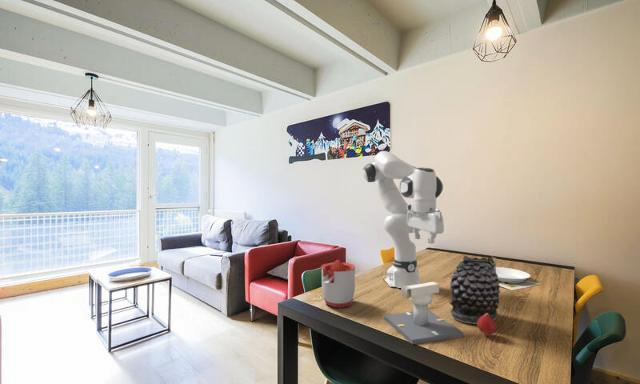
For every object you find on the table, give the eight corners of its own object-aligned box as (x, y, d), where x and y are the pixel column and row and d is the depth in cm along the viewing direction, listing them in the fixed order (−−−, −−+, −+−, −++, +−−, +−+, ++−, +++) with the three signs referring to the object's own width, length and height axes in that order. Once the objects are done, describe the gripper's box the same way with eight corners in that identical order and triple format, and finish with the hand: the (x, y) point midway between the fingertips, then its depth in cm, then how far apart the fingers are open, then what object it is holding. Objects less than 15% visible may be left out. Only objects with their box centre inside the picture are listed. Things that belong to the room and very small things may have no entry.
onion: (473, 332, 103) (473, 309, 103) (489, 331, 103) (488, 309, 103) (484, 340, 97) (484, 316, 97) (500, 339, 97) (500, 316, 97)
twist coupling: (428, 294, 114) (428, 279, 114) (444, 301, 106) (444, 285, 106) (397, 300, 108) (397, 284, 108) (411, 307, 101) (411, 291, 101)
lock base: (383, 319, 114) (383, 295, 114) (427, 313, 119) (427, 290, 119) (412, 344, 95) (411, 315, 95) (463, 336, 100) (462, 308, 100)
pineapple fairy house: (478, 307, 125) (477, 249, 125) (511, 321, 111) (510, 256, 111) (440, 314, 118) (439, 253, 118) (470, 331, 104) (469, 261, 104)
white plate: (472, 278, 167) (472, 272, 167) (487, 270, 184) (486, 264, 184) (524, 288, 148) (524, 281, 148) (535, 278, 165) (534, 272, 165)
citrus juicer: (311, 305, 129) (311, 261, 129) (335, 294, 142) (334, 254, 142) (340, 314, 119) (339, 266, 119) (362, 302, 132) (361, 258, 132)
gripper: (448, 209, 108) (447, 246, 109) (417, 205, 128) (416, 236, 128) (433, 209, 107) (433, 246, 107) (404, 205, 126) (404, 236, 127)
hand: (424, 241), depth 118 cm, fingers open, 8 cm apart
